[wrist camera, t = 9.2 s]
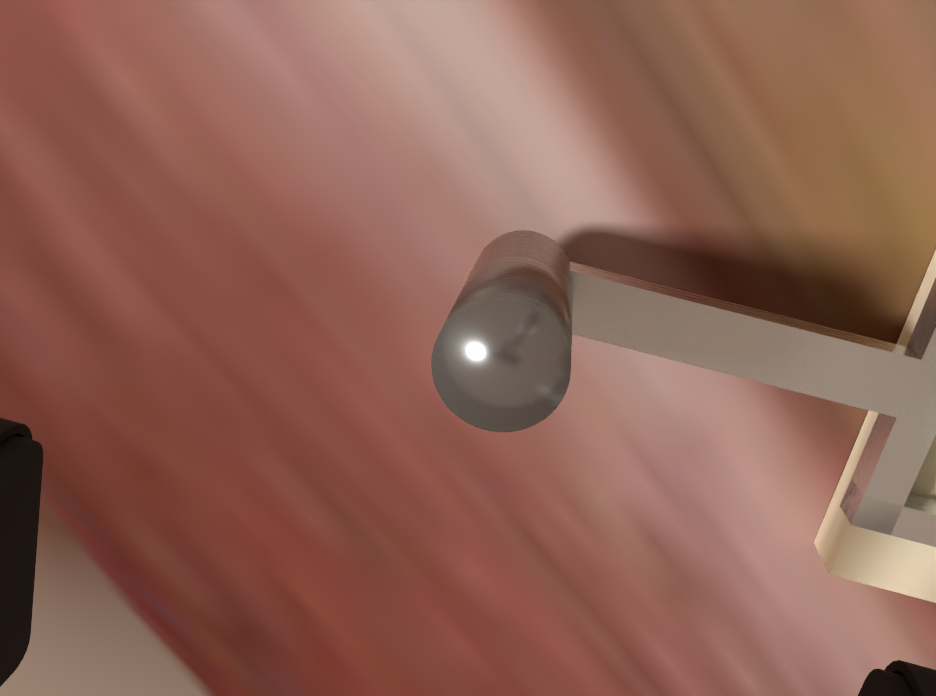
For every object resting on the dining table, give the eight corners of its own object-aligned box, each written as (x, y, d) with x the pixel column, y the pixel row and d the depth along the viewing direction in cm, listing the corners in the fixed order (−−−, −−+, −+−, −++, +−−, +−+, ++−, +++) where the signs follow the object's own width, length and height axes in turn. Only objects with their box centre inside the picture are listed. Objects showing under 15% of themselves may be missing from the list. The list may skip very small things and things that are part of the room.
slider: (443, 402, 28) (392, 527, 21) (510, 117, 25) (480, 142, 18) (1141, 584, 27) (1356, 786, 20) (1296, 311, 24) (1621, 426, 17)
